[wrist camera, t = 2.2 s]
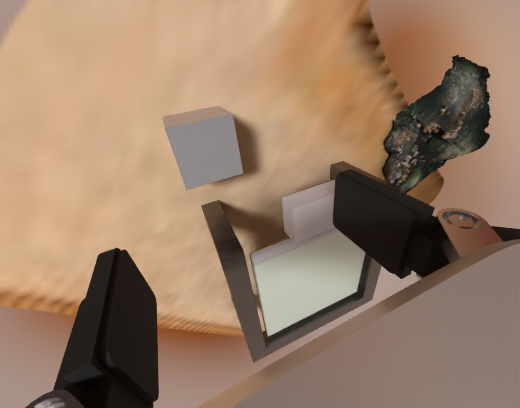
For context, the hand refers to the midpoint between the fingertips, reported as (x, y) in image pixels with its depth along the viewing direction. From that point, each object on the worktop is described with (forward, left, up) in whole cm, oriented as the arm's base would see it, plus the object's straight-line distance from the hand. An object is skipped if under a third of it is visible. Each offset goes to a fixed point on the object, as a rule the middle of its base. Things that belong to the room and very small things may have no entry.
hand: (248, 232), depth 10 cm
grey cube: (0, 0, -15) cm, 15 cm away
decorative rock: (+7, +33, -16) cm, 37 cm away
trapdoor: (+14, +8, -8) cm, 18 cm away
